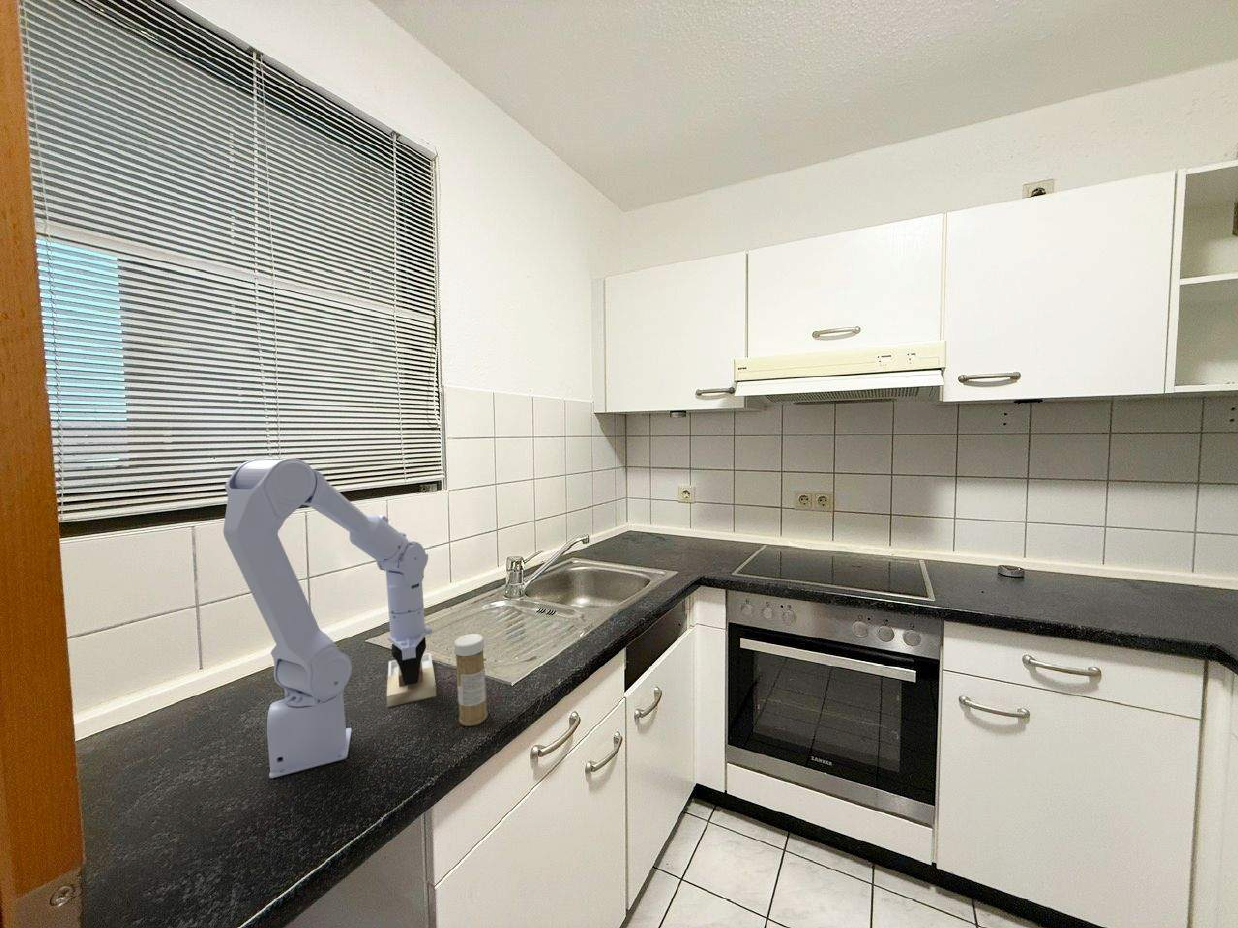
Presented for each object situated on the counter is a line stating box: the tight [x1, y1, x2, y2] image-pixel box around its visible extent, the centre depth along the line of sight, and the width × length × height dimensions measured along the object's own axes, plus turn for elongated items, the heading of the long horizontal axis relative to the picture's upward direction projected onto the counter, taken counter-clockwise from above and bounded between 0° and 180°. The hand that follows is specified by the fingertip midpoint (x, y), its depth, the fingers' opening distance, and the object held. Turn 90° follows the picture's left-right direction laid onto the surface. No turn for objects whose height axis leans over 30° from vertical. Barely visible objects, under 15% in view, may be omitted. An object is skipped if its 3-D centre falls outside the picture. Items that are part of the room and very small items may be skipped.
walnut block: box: [398, 662, 423, 687], centre depth 91 cm, size 4×4×2 cm
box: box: [387, 652, 434, 677], centre depth 98 cm, size 8×8×2 cm
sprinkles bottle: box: [453, 633, 488, 727], centre depth 80 cm, size 5×5×14 cm
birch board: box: [386, 666, 437, 708], centre depth 91 cm, size 8×8×2 cm
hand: (411, 682), depth 88 cm, fingers closed
